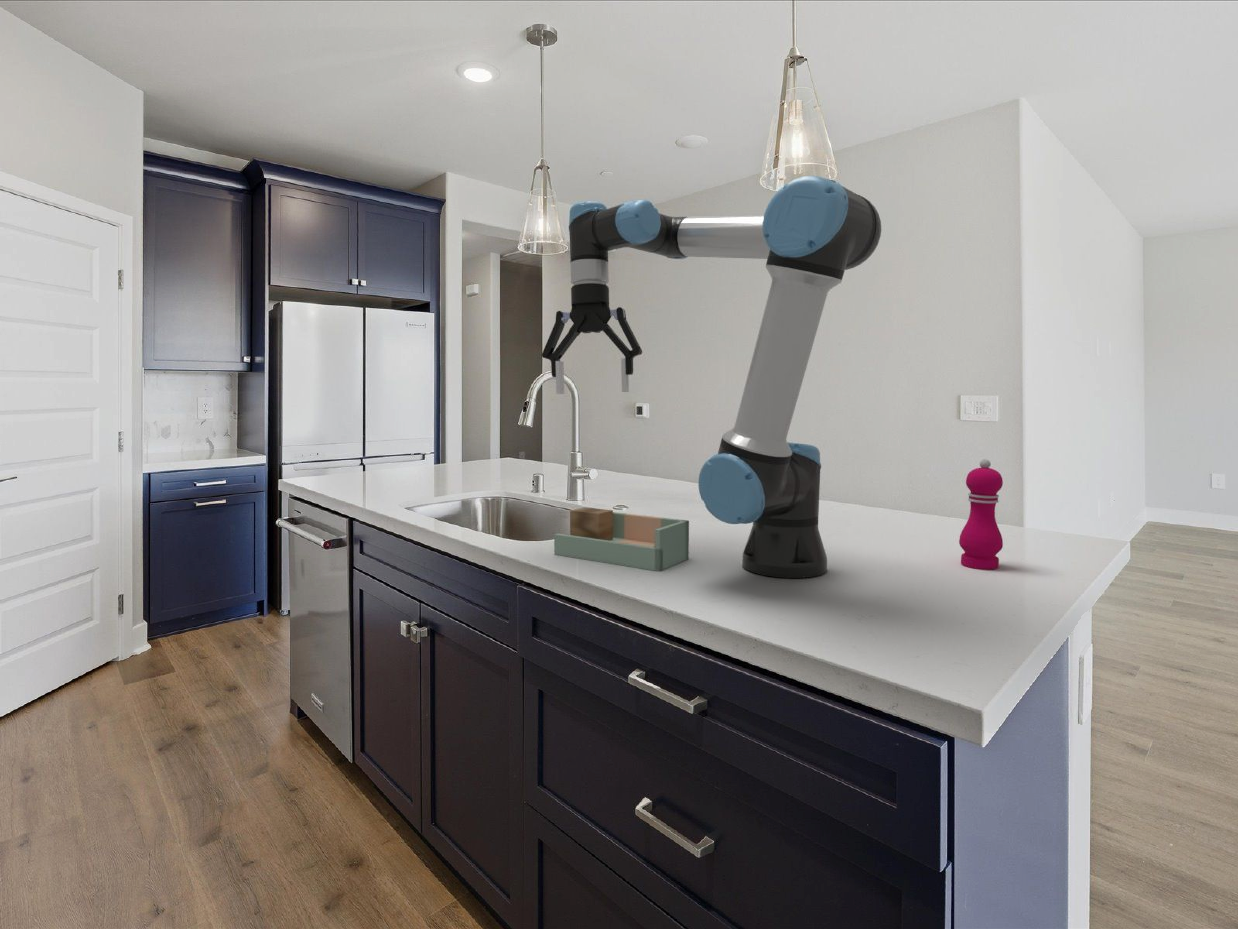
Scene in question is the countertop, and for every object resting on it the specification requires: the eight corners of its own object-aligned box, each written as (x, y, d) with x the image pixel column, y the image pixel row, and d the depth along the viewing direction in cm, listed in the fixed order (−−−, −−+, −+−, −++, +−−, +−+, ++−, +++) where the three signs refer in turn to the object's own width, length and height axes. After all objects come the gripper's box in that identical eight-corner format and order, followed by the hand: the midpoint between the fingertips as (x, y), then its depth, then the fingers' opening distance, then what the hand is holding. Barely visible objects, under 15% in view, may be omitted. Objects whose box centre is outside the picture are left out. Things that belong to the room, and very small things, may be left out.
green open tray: (688, 558, 132) (688, 520, 132) (659, 571, 123) (659, 530, 122) (587, 543, 145) (587, 509, 145) (554, 554, 136) (554, 517, 135)
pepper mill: (1007, 571, 123) (1014, 461, 121) (964, 569, 125) (970, 460, 123) (993, 561, 130) (1000, 457, 128) (953, 560, 132) (958, 457, 130)
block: (612, 539, 138) (612, 510, 137) (598, 544, 134) (598, 513, 133) (584, 535, 142) (584, 507, 141) (570, 540, 137) (570, 510, 137)
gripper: (655, 284, 136) (657, 391, 137) (537, 292, 142) (540, 394, 144) (647, 277, 128) (649, 390, 130) (523, 286, 135) (527, 394, 136)
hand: (592, 392), depth 137 cm, fingers open, 13 cm apart
